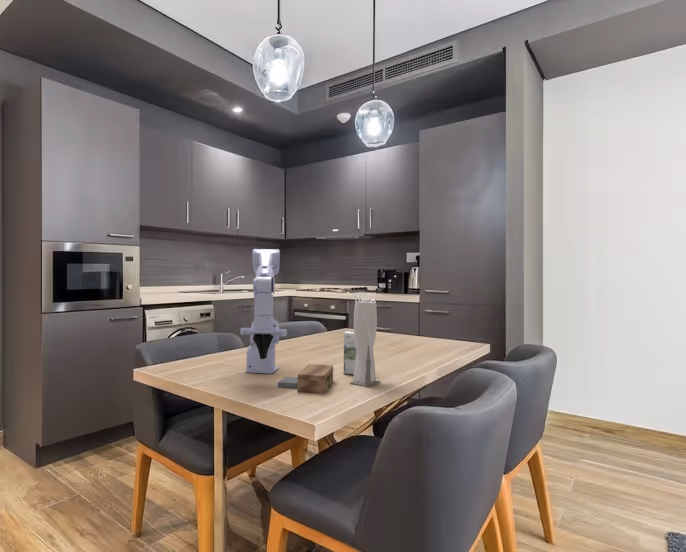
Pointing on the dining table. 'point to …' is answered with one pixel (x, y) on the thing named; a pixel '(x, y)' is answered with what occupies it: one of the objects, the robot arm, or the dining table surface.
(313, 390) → the walnut shelf bridge
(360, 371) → the skyscraper
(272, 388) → the dining table surface
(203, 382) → the dining table surface
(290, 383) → the slate tile
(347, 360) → the syrup box
